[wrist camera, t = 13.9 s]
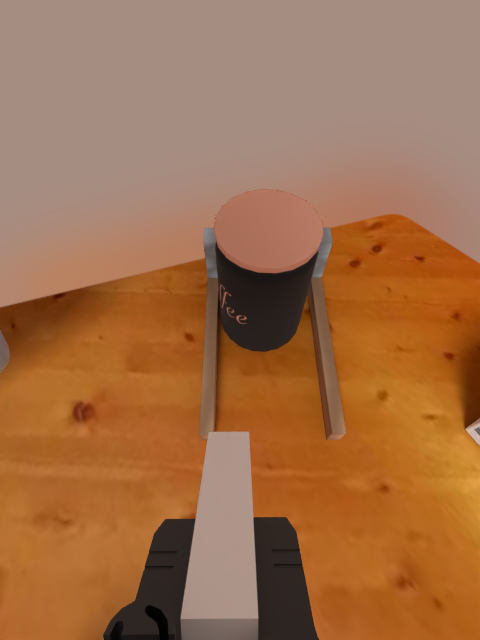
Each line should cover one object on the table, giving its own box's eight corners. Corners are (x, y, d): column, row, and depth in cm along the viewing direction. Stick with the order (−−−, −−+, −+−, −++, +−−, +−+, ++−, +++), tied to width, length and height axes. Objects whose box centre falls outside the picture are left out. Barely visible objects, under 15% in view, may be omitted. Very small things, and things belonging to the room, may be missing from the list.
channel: (201, 440, 41) (191, 415, 32) (210, 276, 53) (204, 228, 45) (339, 439, 41) (365, 414, 32) (315, 276, 53) (329, 227, 45)
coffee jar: (219, 293, 52) (210, 191, 36) (290, 287, 52) (312, 185, 37) (224, 358, 46) (216, 272, 31) (304, 352, 47) (335, 263, 31)
